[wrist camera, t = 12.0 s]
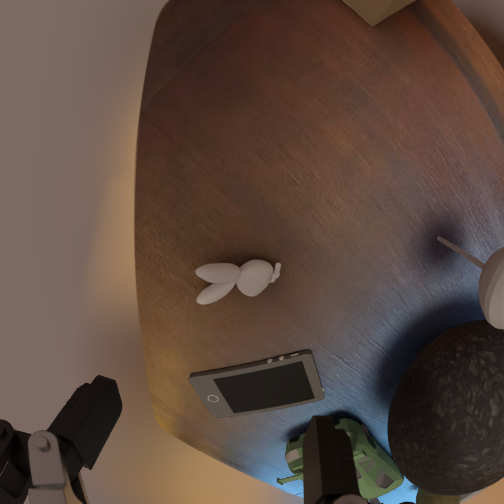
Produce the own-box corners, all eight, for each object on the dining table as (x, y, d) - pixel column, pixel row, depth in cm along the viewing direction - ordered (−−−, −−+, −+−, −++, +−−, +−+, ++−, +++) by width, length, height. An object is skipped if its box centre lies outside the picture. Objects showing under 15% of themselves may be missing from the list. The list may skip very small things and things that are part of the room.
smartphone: (311, 347, 29) (311, 352, 29) (325, 394, 32) (326, 398, 31) (188, 373, 32) (186, 377, 31) (215, 414, 34) (214, 418, 34)
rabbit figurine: (276, 301, 28) (196, 319, 25) (263, 269, 30) (187, 282, 27) (296, 268, 24) (199, 286, 21) (278, 232, 26) (188, 244, 23)
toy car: (349, 400, 32) (362, 461, 23) (404, 464, 39) (414, 502, 29) (274, 431, 35) (271, 489, 26) (352, 486, 41) (357, 523, 32)
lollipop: (445, 196, 23) (555, 241, 9) (467, 239, 24) (562, 300, 10) (404, 237, 25) (500, 313, 11) (430, 276, 26) (512, 361, 12)
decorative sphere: (385, 425, 34) (412, 535, 15) (351, 338, 29) (400, 506, 10) (492, 365, 30) (549, 451, 11) (492, 259, 25) (605, 348, 6)
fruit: (415, 490, 44) (425, 532, 30) (407, 482, 42) (418, 530, 28) (453, 470, 42) (467, 511, 27) (450, 460, 39) (466, 506, 25)
